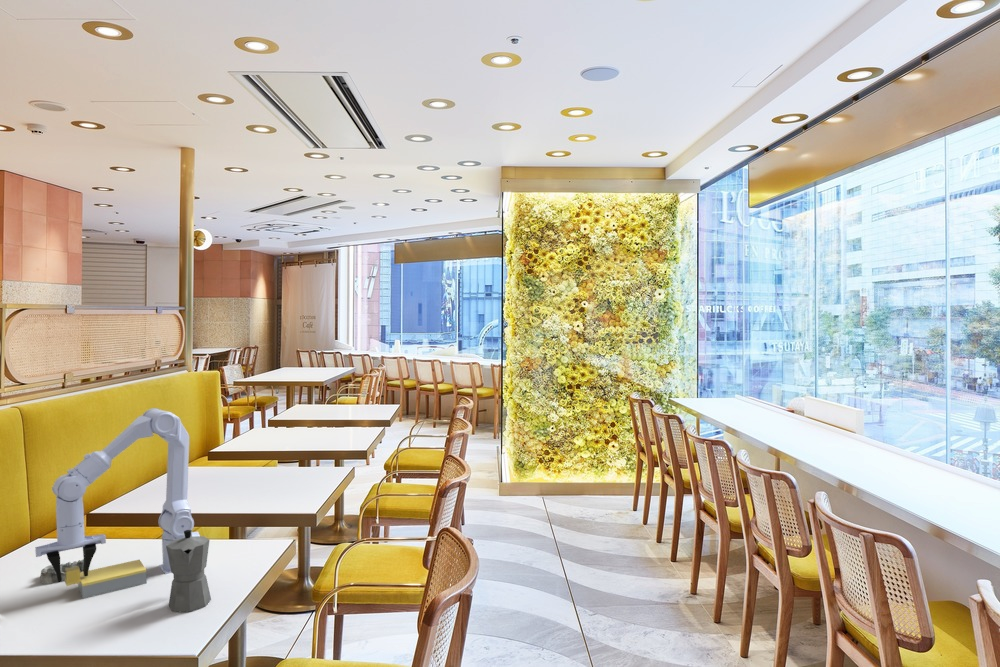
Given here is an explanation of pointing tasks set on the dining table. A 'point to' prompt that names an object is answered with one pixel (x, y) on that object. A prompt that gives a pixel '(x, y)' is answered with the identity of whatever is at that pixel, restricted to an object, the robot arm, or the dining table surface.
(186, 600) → the coffeepot
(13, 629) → the dining table surface
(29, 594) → the dining table surface
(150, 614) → the dining table surface
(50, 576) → the egg carton
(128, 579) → the tub
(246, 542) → the dining table surface
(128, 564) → the lid
